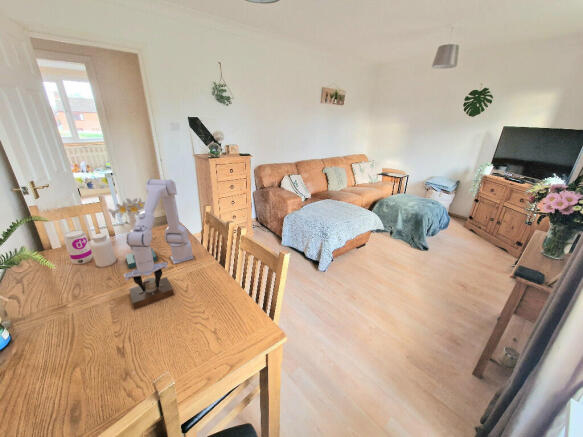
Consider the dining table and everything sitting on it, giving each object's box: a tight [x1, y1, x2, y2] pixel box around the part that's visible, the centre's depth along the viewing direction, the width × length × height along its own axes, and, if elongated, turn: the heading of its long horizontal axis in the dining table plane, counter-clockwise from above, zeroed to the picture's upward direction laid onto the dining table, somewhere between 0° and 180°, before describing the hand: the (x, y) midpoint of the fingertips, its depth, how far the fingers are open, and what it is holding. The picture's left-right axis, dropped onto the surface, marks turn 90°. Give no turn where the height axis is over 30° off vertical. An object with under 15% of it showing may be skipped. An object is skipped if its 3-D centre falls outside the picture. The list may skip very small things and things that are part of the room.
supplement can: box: [62, 229, 94, 265], centre depth 115 cm, size 8×8×15 cm
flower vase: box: [106, 197, 146, 236], centre depth 133 cm, size 13×18×25 cm
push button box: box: [125, 248, 158, 270], centre depth 119 cm, size 12×10×4 cm
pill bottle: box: [89, 232, 117, 268], centre depth 114 cm, size 8×8×15 cm
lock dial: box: [142, 277, 157, 293], centre depth 96 cm, size 4×4×4 cm
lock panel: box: [128, 276, 175, 310], centre depth 97 cm, size 14×10×3 cm
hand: (150, 288), depth 96 cm, fingers closed on lock dial, 4 cm apart
